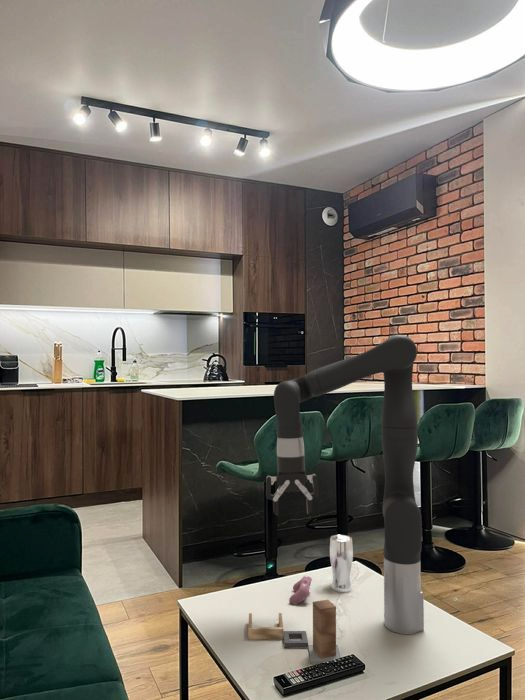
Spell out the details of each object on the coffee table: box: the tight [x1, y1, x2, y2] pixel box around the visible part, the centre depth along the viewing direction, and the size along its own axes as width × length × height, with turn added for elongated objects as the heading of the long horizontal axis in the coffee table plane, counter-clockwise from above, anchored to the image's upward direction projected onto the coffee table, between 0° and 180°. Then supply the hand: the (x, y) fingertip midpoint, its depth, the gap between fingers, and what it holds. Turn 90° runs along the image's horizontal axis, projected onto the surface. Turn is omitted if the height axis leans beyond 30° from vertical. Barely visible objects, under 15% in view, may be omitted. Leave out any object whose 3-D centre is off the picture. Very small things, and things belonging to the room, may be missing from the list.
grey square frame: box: [283, 630, 309, 649], centre depth 125 cm, size 6×6×1 cm
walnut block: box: [312, 599, 337, 659], centre depth 120 cm, size 4×4×11 cm
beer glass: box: [329, 534, 354, 593], centre depth 156 cm, size 7×7×15 cm
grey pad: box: [307, 643, 342, 665], centre depth 119 cm, size 7×7×1 cm
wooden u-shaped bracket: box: [247, 612, 284, 640], centre depth 130 cm, size 9×8×2 cm
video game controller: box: [288, 575, 313, 605], centre depth 149 cm, size 10×5×7 cm, turn 169°
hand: (293, 514), depth 140 cm, fingers open, 8 cm apart
